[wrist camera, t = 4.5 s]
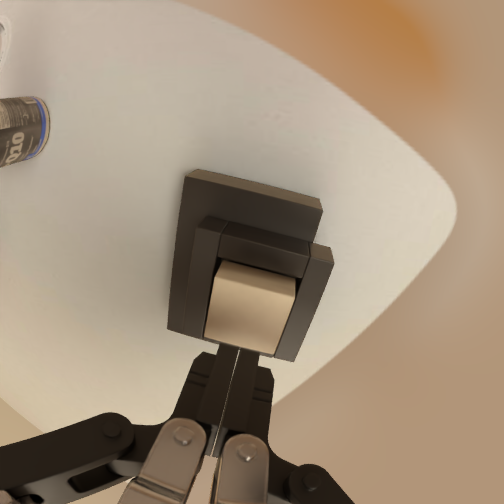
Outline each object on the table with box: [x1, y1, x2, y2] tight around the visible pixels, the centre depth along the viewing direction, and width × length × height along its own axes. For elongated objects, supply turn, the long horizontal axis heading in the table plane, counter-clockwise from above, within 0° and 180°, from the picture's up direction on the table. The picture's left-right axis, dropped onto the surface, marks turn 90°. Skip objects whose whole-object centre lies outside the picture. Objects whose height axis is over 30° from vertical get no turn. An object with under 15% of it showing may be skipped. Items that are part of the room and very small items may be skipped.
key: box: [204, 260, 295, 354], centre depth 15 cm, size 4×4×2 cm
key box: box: [167, 169, 334, 362], centre depth 17 cm, size 10×8×4 cm
